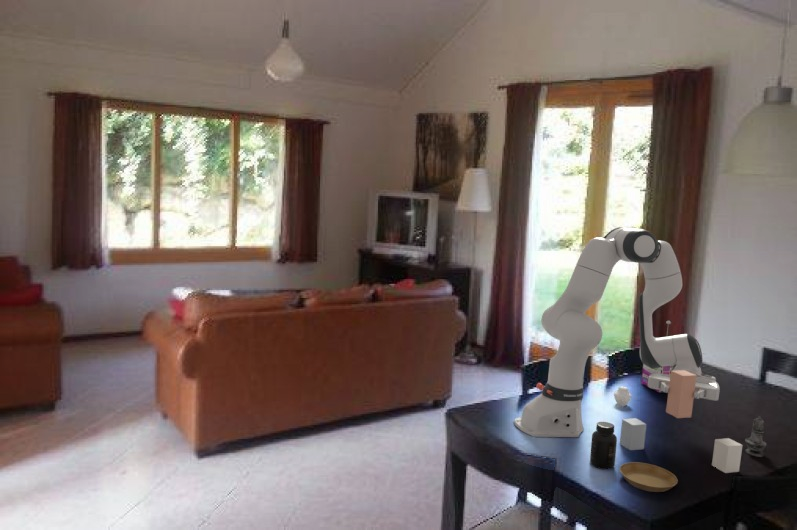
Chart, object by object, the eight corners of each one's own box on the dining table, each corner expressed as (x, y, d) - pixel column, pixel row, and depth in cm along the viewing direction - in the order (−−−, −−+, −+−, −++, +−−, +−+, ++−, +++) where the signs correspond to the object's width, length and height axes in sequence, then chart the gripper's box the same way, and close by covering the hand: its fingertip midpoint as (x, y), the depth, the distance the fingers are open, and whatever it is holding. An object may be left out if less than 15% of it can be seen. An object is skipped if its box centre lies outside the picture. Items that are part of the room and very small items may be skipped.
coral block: (677, 418, 190) (682, 375, 188) (665, 412, 195) (670, 370, 193) (691, 417, 192) (696, 375, 190) (679, 411, 196) (684, 370, 195)
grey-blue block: (630, 450, 195) (632, 425, 194) (619, 443, 199) (622, 419, 198) (643, 449, 196) (646, 424, 195) (633, 442, 201) (635, 418, 200)
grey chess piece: (768, 458, 195) (773, 420, 193) (747, 455, 196) (752, 418, 194) (761, 450, 200) (766, 413, 199) (741, 447, 202) (746, 411, 200)
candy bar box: (669, 392, 254) (674, 352, 252) (658, 392, 252) (663, 352, 250) (650, 383, 264) (654, 344, 262) (640, 383, 263) (644, 345, 261)
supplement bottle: (609, 459, 187) (613, 420, 185) (618, 470, 180) (622, 429, 179) (586, 458, 187) (590, 419, 185) (593, 469, 180) (598, 428, 178)
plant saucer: (638, 466, 184) (639, 457, 184) (687, 487, 173) (688, 478, 172) (607, 478, 175) (608, 469, 175) (657, 501, 164) (658, 492, 163)
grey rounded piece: (634, 406, 234) (636, 388, 234) (621, 408, 232) (623, 389, 231) (621, 401, 240) (623, 383, 239) (609, 402, 237) (611, 384, 236)
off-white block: (725, 473, 183) (728, 446, 182) (711, 465, 187) (715, 439, 186) (738, 471, 184) (742, 445, 183) (725, 464, 189) (728, 438, 188)
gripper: (651, 365, 208) (645, 375, 196) (721, 378, 199) (719, 389, 186) (649, 384, 209) (643, 395, 197) (718, 397, 199) (716, 410, 187)
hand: (681, 392), depth 192 cm, fingers closed on coral block, 7 cm apart
